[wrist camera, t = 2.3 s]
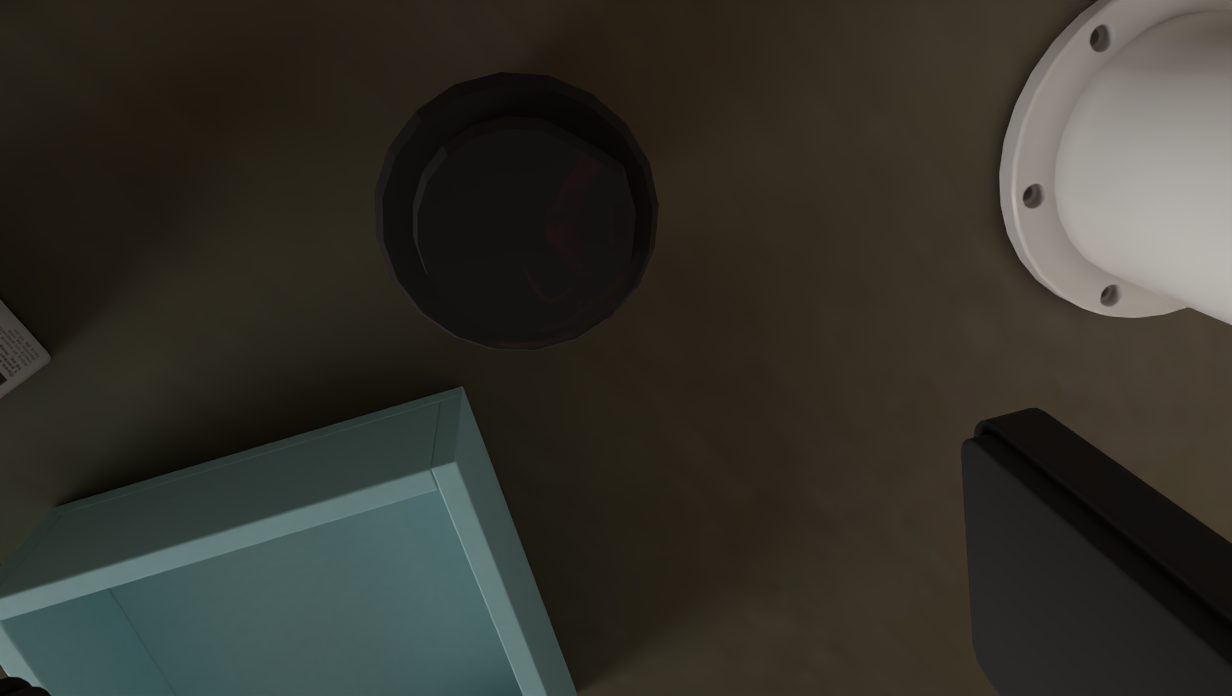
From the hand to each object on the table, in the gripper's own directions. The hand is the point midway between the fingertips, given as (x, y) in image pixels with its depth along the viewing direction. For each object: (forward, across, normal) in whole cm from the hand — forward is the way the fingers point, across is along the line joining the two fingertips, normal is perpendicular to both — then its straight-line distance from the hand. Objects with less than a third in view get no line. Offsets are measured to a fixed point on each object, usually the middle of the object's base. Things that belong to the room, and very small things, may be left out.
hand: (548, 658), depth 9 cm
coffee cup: (+22, -1, -1) cm, 23 cm away
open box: (+22, +11, +14) cm, 29 cm away
